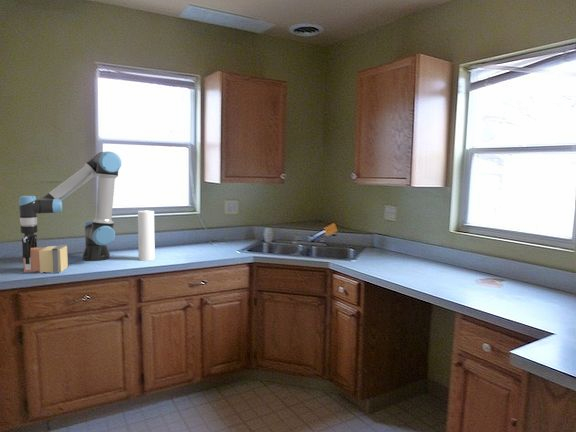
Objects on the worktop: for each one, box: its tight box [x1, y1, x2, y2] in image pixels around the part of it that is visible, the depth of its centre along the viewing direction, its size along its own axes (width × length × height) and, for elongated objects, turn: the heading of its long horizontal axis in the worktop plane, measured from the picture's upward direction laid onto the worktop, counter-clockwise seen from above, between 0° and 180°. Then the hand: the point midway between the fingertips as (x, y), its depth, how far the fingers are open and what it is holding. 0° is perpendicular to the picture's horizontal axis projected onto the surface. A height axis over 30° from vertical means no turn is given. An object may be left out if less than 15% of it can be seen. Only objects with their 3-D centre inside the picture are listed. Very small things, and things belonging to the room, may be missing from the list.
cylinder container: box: [137, 209, 156, 262], centre depth 252 cm, size 9×9×30 cm
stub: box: [22, 246, 45, 273], centre depth 220 cm, size 8×6×12 cm
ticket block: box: [39, 243, 69, 274], centre depth 222 cm, size 10×15×13 cm, turn 13°
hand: (31, 268), depth 220 cm, fingers closed on stub, 6 cm apart
